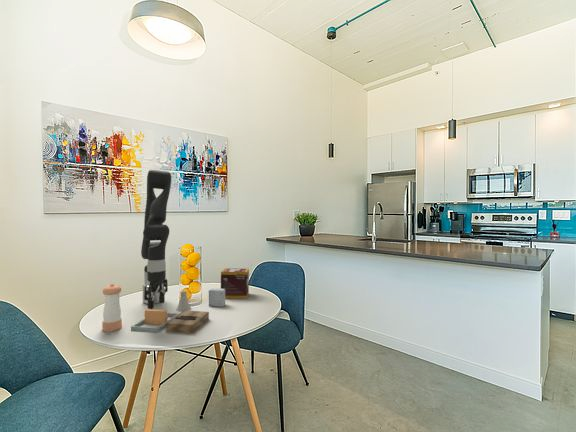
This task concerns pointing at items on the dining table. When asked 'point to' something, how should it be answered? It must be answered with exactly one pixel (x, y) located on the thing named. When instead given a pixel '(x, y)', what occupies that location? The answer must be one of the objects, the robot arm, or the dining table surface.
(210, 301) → the grey cube
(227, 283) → the supplement box
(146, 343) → the dining table surface
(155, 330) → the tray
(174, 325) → the slotted wooden block
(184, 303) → the flask
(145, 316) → the tan rectangular block
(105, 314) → the pepper shaker
